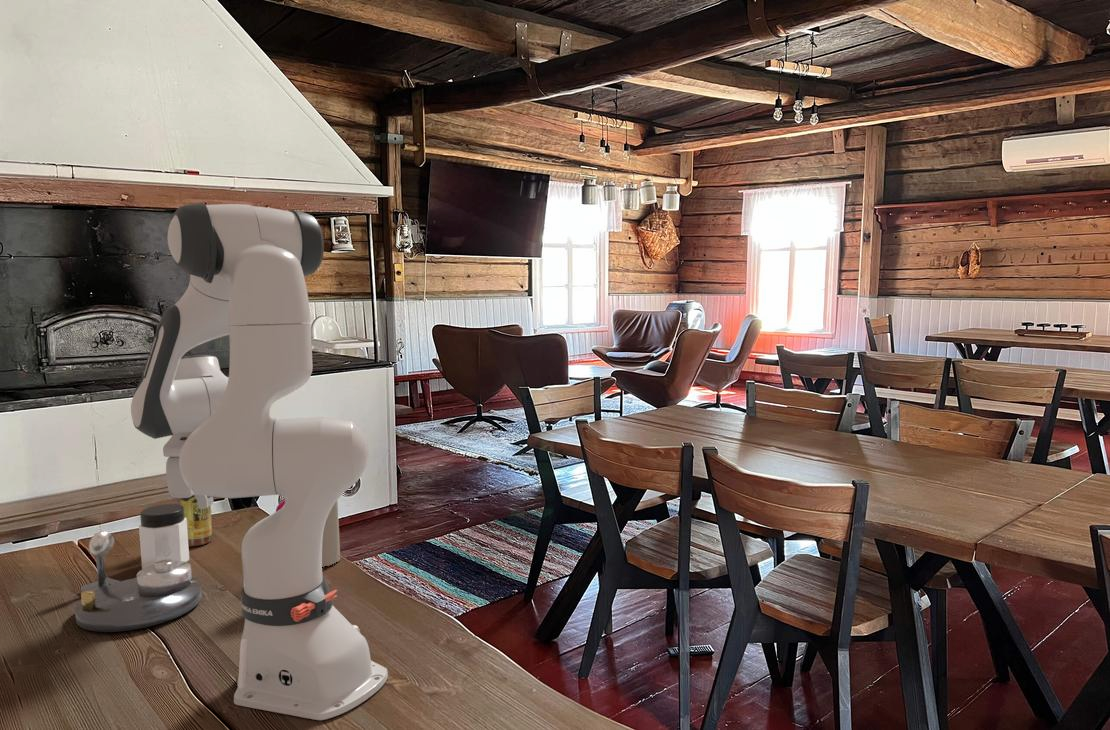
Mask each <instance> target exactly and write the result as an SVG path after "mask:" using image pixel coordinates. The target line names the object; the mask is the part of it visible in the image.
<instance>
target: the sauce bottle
mask: <svg viewBox="0 0 1110 730" xmlns="http://www.w3.org/2000/svg"><path fill="white" fill-rule="evenodd" d="M179 503H180V504H179V505H182V506H183V507H184V517H185V518H187V532H188V546H189V547H198V546H203V545H207V544H208V543H210V542H211V541H212V539H213V537H212V534H213V529H212V527H213V525H212V524H213V523H212V505H210V506H209V507H207V508H206V509H199V508H198V504H197V500H196V498H195V496H194V495H192V496H191V497H189V498H179Z"/></svg>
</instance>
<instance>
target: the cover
mask: <svg viewBox="0 0 1110 730" xmlns="http://www.w3.org/2000/svg"><path fill="white" fill-rule="evenodd" d="M192 574H193V573H192V565H191V564H190V563H189V562H188V561H187V562H183V561H172V560H169V559H167V560H161V561H158V562H156V563H155V564H154V565H151V566H148V567H146V568H144V569H142V568H141V570H139V571H138V572H137V574H136V578H137V584H138V592H139V593H140V594H142V595H147V596H157V595H165V594H169V593H173V592H177V591H179V590H182V589H184V588H186V587H188V586H189V585H190V584H191V583H192V578H193V575H192Z"/></svg>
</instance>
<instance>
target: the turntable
mask: <svg viewBox="0 0 1110 730" xmlns="http://www.w3.org/2000/svg"><path fill="white" fill-rule="evenodd" d="M119 581H120V582H117V583H114V584H110V585H108V586H105V587H102V588H100V589H98V590H95V591H94V590H87V591H84V592H82V591H81V593H80V597H81V598H80V599H79V601H78V602H77V603H76V604H75V607H74V614H75V615H74V616H75V621H76V624H77V625H78V627H80V628H82V629H84V630H88V631H92V632H99V633H103V632H104V633H116V632H117V633H118V632H125V631H126V632H127V631H134V630H138V629H144V628H148V627H152V626H155V625H160V624H163V623H166V622H168V621H171V620H173V619H176V618H178V617H180V616H182V615H184V614H186V613H188V612H190V611H191V610H192V609H194V608H195V607H196V606H198V604H199V603H200V601H201V599H202V586H201V582H200V581H199V580H198V579H197V578H195V577H192V583H191V584H190V585H189V586H188V587H186V588H184V589H182V590H179V591H177V592H173V593H169V594H165V595H157V596H147V595H142V594H140V593H139V592H138V584H137V577H134V578H133V577H132V578H129V579H125V580H119Z"/></svg>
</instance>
